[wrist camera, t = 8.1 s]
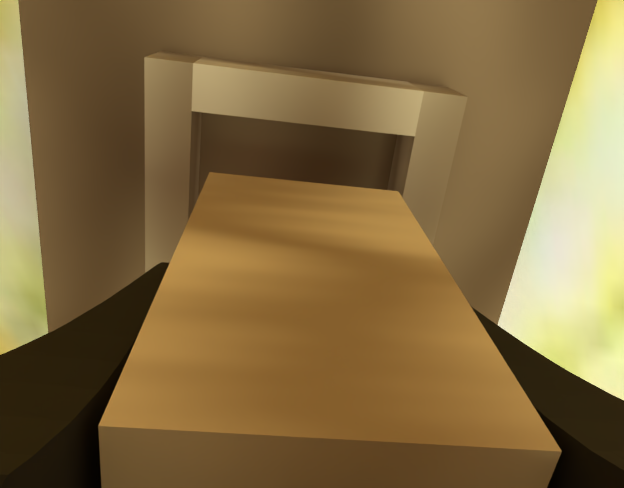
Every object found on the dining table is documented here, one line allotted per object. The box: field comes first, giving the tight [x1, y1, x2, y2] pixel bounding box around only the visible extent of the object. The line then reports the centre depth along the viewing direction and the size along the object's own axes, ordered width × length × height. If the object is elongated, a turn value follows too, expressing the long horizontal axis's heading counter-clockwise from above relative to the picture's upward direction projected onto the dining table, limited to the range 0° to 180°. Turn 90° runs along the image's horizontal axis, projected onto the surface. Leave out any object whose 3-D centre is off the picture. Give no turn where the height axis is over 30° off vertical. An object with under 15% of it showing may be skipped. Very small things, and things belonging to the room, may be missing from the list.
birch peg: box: [98, 172, 562, 488], centre depth 9 cm, size 4×4×8 cm
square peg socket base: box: [18, 0, 597, 333], centre depth 17 cm, size 16×16×3 cm
